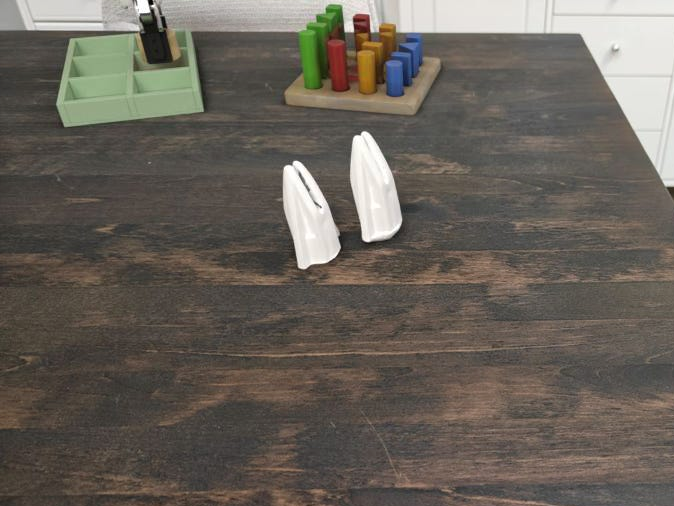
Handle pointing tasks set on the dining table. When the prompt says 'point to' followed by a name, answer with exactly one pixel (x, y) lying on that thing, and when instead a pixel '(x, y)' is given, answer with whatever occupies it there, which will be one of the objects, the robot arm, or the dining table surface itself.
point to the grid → (126, 81)
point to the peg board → (360, 67)
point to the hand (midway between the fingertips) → (160, 53)
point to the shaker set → (314, 214)
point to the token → (172, 43)
